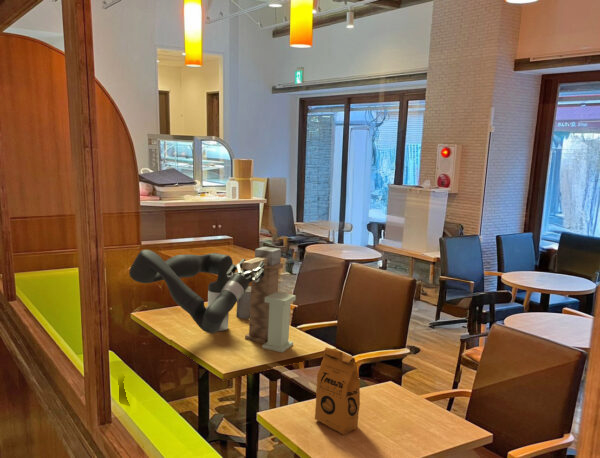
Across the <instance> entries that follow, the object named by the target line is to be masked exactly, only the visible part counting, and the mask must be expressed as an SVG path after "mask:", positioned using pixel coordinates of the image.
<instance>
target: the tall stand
mask: <svg viewBox="0 0 600 458" xmlns="http://www.w3.org/2000/svg"><path fill="white" fill-rule="evenodd" d="M282 268H284V262H280V263H278V264H276V265H273V266H269V265H267V266H265V267H264V268H263V269H264V273H265V275H264V276H263V278H262V279H261V280H260V282H259V283H256V282H255V281H252V282H250V284H251V285H250V286H251V302H250V319H249V327H248V328H249V329H248V333H247V334H246V335H244V339H245V340H249V341H252V342H257V343H262V344H265V343H266V342H268V325H269V305H270V303H266V302H265V297H266V296H269V295H271V294H273V293H275V292H278V291H279V276H280V274H279V273H280V269H282ZM256 272H258V271H256ZM252 275H253V272H252Z"/></svg>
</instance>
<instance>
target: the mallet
mask: <svg viewBox="0 0 600 458" xmlns="http://www.w3.org/2000/svg"><path fill="white" fill-rule="evenodd" d="M281 254H282V248H279V247H278V248H277V247H271V246H262V247H258V248H255V249H254V258H251V259H248V260H246V261H244V262H242V268H241V270H243V269H245V270H251V269H256V268H258V266H259V264H260V263H261V262H262V261H263V262H264V265H265V266H267V265H269V266H273V265H276V264H278V263H281V258H282V255H281Z"/></svg>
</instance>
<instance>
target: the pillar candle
mask: <svg viewBox="0 0 600 458" xmlns="http://www.w3.org/2000/svg"><path fill="white" fill-rule="evenodd" d="M250 302H251V285H249V286H248V288H247V289H246V291H245V292H244V293H243V295H242V296H241V298H240V299H239V300H238V301H237V302H236V314H235V315H236V318H238V319H242V320H250Z"/></svg>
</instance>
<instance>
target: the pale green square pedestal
mask: <svg viewBox="0 0 600 458" xmlns="http://www.w3.org/2000/svg"><path fill="white" fill-rule="evenodd" d="M296 300H297V295H296V294H295V295H294V294H290V293H285V292H275V293H273V294H271V295H269V296H266V297H265V302H266V303H270V305H269V325H268V342H266V343H262V349H265V350H270V351H275V352H279V353H284V352H285V351H286V350H288V349H290V347H292V346H293V345H294V341H290V340H289V337H290V323H291V322H290V320H291V306H292V305H291V304H292V303H293V302H296Z"/></svg>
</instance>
